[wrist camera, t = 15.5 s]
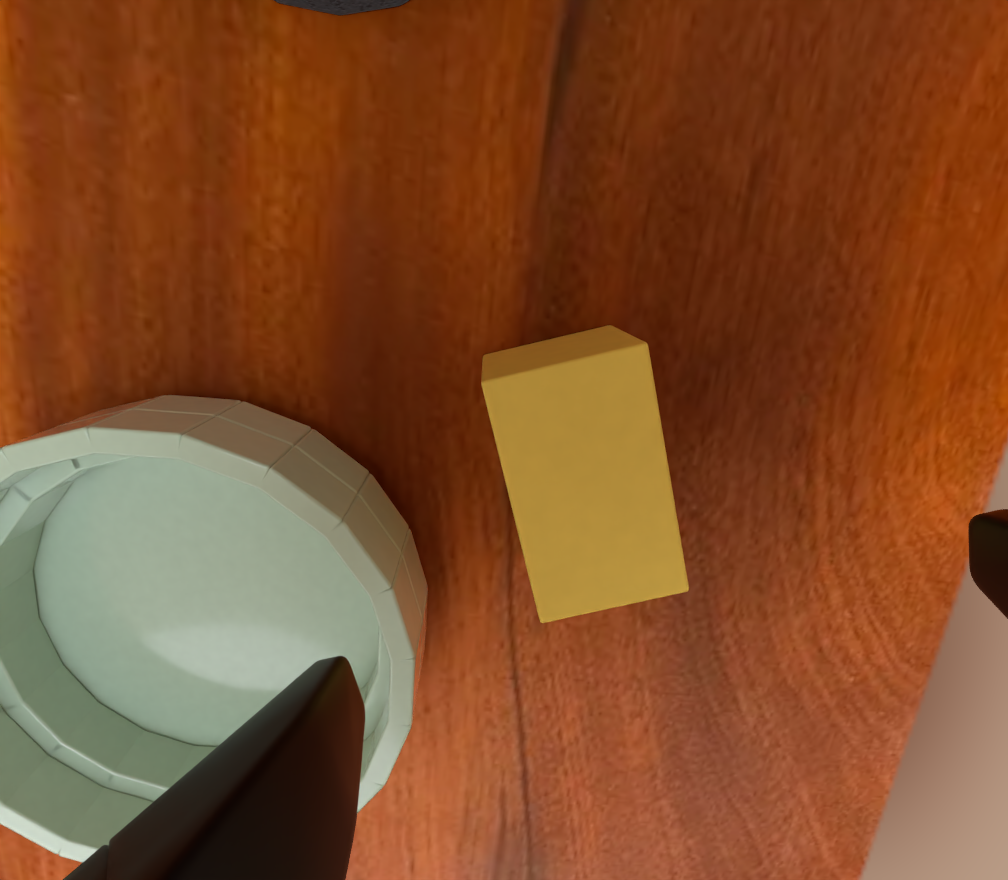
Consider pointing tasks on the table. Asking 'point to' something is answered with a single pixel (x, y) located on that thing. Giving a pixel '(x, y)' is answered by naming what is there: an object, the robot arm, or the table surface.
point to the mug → (343, 5)
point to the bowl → (185, 603)
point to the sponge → (586, 470)
